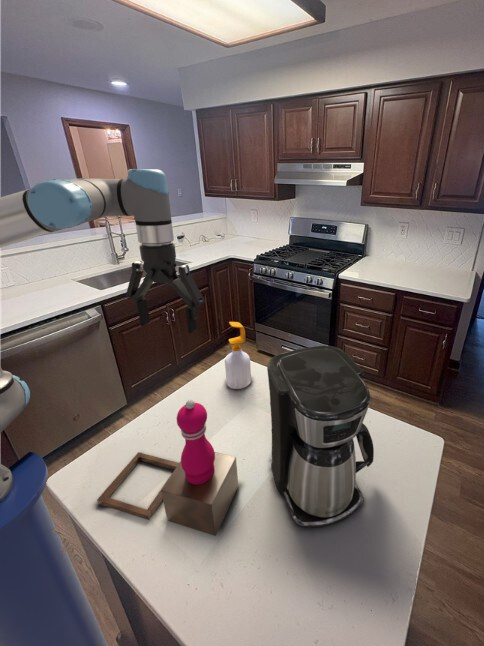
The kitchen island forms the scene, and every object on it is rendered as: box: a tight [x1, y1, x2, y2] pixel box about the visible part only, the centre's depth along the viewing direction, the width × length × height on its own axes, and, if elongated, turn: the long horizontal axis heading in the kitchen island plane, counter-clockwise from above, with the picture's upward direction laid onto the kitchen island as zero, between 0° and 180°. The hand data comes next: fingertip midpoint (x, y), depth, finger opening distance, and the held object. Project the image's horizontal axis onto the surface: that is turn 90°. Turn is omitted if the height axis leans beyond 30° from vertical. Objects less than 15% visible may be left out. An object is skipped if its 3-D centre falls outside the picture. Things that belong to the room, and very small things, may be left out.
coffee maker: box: [266, 345, 375, 528], centre depth 75 cm, size 23×32×34 cm
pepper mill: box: [176, 399, 216, 485], centre depth 66 cm, size 7×7×20 cm
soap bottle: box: [224, 321, 252, 390], centre depth 112 cm, size 9×9×25 cm
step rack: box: [96, 451, 239, 537], centre depth 74 cm, size 30×14×10 cm, turn 75°
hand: (168, 327), depth 79 cm, fingers open, 13 cm apart
